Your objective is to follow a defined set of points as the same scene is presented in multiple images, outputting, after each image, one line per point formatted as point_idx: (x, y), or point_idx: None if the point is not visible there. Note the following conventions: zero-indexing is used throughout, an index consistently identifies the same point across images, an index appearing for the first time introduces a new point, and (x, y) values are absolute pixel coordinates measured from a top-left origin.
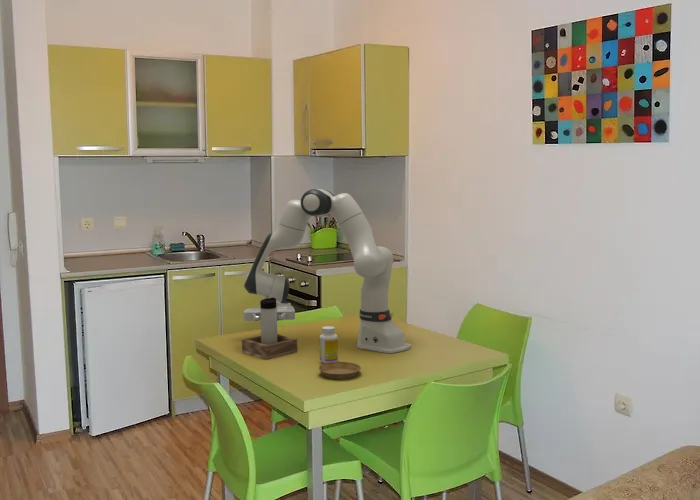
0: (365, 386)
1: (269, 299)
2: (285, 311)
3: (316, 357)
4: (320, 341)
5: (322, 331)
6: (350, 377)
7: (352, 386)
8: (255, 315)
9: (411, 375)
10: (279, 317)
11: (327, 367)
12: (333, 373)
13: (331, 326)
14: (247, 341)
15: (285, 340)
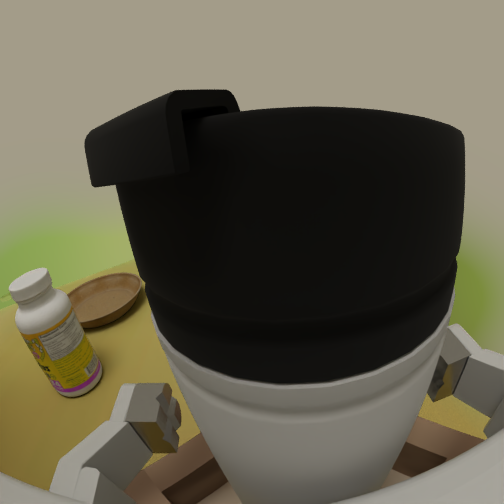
0: (98, 272)
1: (298, 154)
2: (37, 490)
3: (94, 423)
4: (73, 312)
5: (49, 287)
6: (95, 295)
7: (114, 271)
8: (478, 353)
9: (17, 305)
10: (169, 390)
11: (111, 317)
12: (113, 307)
13: (10, 288)
14: (438, 424)
15: (188, 473)
